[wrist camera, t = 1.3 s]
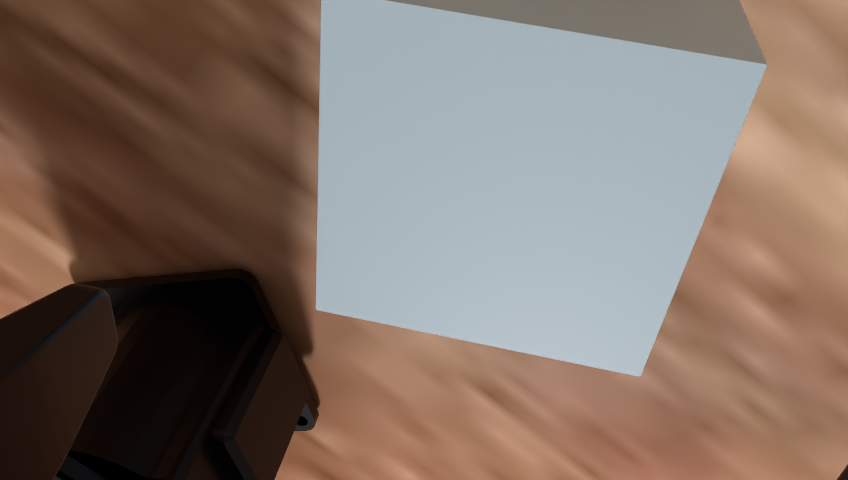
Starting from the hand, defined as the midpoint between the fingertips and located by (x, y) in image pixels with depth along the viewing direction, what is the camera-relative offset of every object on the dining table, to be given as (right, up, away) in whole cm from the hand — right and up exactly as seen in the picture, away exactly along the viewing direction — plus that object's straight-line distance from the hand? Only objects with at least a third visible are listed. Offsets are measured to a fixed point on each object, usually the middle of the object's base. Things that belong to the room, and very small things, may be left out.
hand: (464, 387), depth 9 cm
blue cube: (+2, +6, +8) cm, 10 cm away
